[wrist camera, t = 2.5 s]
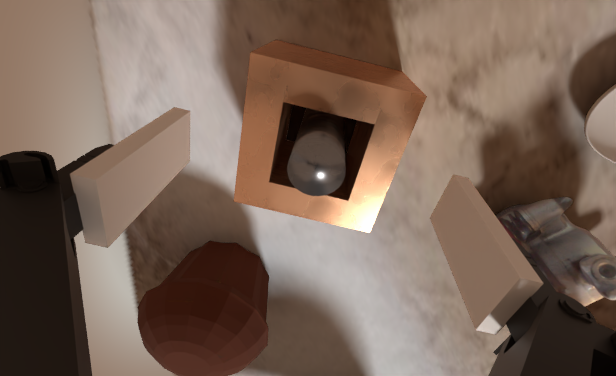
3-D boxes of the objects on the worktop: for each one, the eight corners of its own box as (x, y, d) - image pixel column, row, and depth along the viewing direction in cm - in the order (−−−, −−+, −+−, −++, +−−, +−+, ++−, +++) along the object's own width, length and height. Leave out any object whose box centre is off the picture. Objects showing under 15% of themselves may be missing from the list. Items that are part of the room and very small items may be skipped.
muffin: (295, 253, 31) (277, 348, 22) (266, 318, 36) (243, 414, 28) (179, 215, 30) (113, 300, 21) (167, 288, 35) (112, 379, 27)
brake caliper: (417, 259, 27) (582, 324, 16) (481, 165, 29) (666, 163, 18) (484, 326, 30) (657, 418, 19) (537, 238, 32) (720, 274, 21)
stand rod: (337, 140, 24) (336, 201, 17) (300, 131, 24) (282, 188, 17) (348, 103, 23) (352, 152, 15) (309, 93, 23) (293, 137, 15)
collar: (362, 180, 26) (369, 233, 20) (258, 156, 26) (233, 201, 20) (402, 71, 21) (426, 96, 15) (275, 39, 21) (250, 52, 15)
